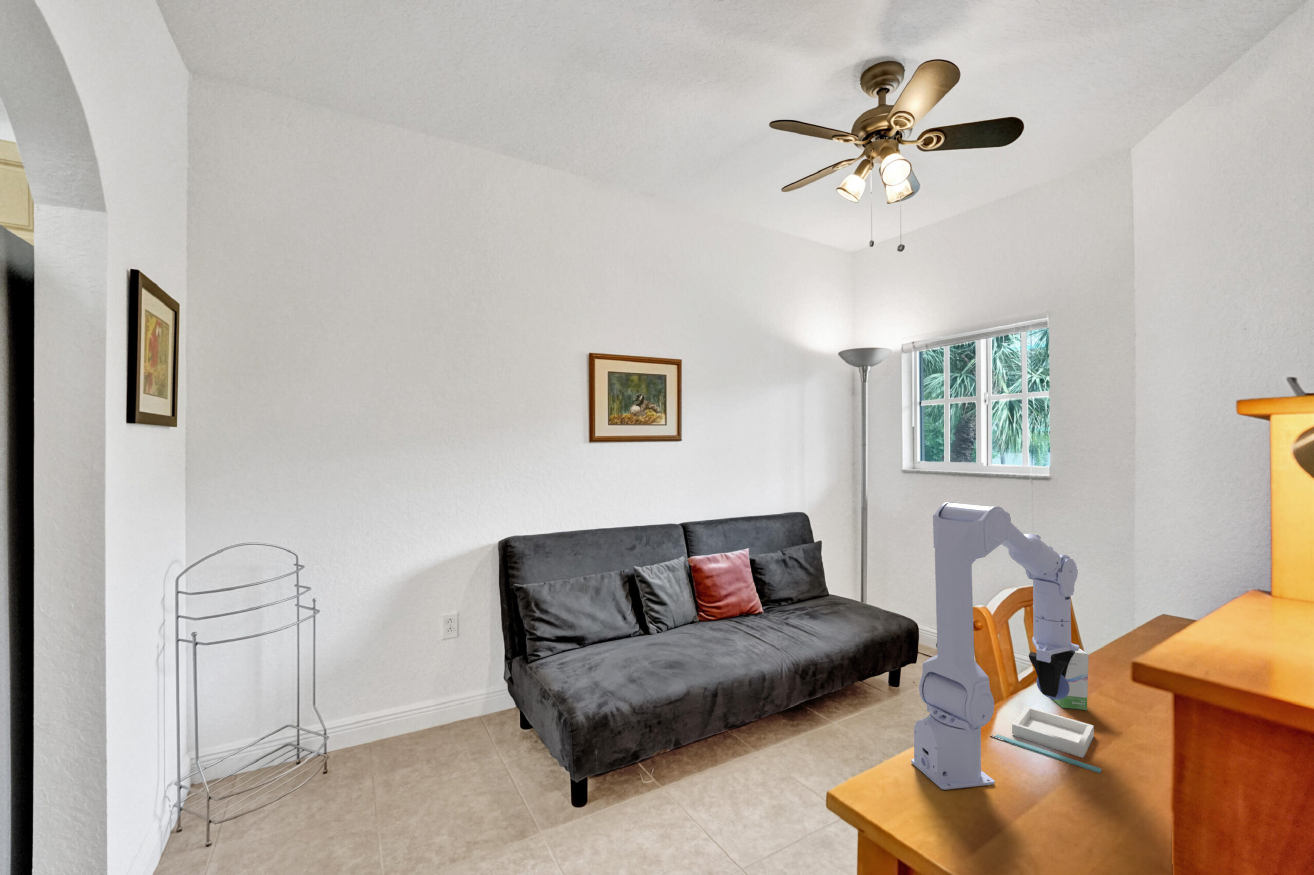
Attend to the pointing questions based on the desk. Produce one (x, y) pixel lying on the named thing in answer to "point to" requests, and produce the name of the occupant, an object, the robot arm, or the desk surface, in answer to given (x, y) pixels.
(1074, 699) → the ink box
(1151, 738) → the desk surface
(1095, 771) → the teal line
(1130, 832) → the desk surface
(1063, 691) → the ball
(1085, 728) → the tray
